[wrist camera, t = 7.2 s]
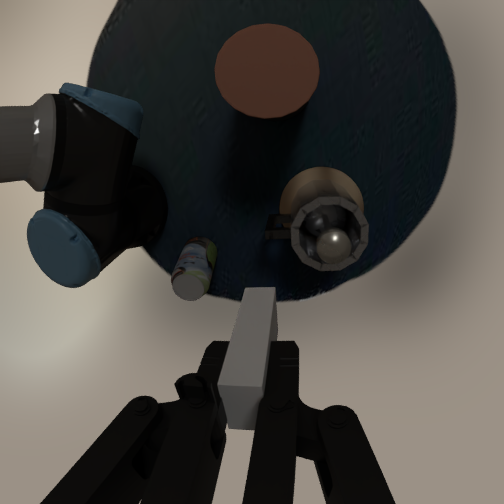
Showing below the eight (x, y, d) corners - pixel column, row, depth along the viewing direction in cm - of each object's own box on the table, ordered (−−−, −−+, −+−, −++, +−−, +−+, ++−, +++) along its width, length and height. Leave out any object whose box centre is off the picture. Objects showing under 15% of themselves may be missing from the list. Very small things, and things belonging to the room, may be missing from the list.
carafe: (273, 240, 52) (267, 272, 42) (268, 181, 49) (261, 199, 38) (351, 237, 50) (366, 269, 40) (351, 178, 47) (369, 195, 36)
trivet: (282, 249, 54) (282, 250, 53) (276, 168, 48) (276, 169, 48) (361, 246, 51) (362, 247, 51) (362, 166, 46) (363, 166, 45)
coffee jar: (323, 99, 43) (340, 85, 26) (266, 133, 46) (251, 138, 30) (285, 46, 40) (280, 6, 24) (228, 81, 43) (194, 60, 27)
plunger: (303, 236, 48) (306, 274, 36) (301, 195, 45) (304, 221, 34) (345, 235, 47) (360, 272, 35) (345, 193, 44) (362, 219, 33)
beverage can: (201, 227, 54) (178, 254, 43) (230, 256, 55) (215, 289, 44) (179, 248, 56) (153, 279, 45) (207, 276, 58) (188, 311, 47)
